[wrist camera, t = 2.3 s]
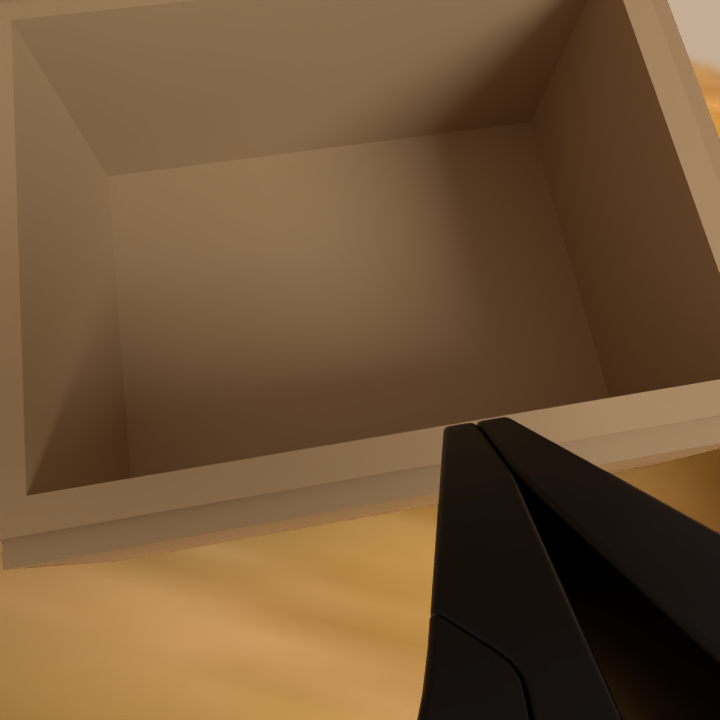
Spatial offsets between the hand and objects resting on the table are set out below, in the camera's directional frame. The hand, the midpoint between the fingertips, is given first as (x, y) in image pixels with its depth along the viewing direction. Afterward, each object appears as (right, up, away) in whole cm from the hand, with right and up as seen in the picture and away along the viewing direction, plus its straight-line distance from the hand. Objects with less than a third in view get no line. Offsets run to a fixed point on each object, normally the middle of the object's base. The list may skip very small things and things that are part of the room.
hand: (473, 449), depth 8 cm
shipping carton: (-2, +3, +15) cm, 15 cm away
